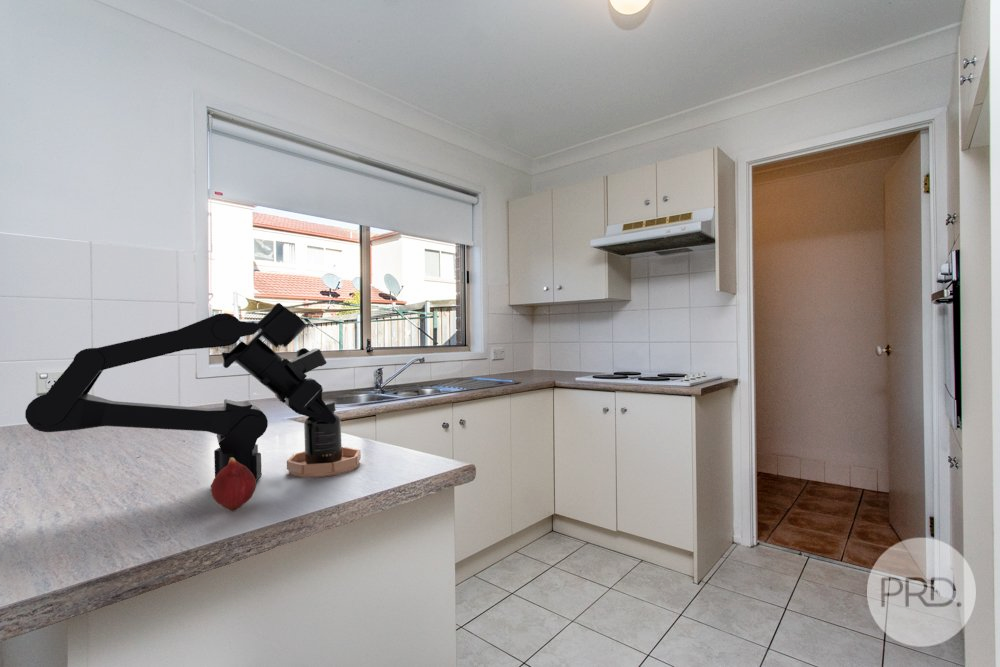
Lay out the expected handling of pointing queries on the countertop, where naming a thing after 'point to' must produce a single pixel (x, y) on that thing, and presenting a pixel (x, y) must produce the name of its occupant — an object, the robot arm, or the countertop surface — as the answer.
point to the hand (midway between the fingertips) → (329, 418)
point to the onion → (233, 485)
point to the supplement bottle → (323, 439)
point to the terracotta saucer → (324, 465)
